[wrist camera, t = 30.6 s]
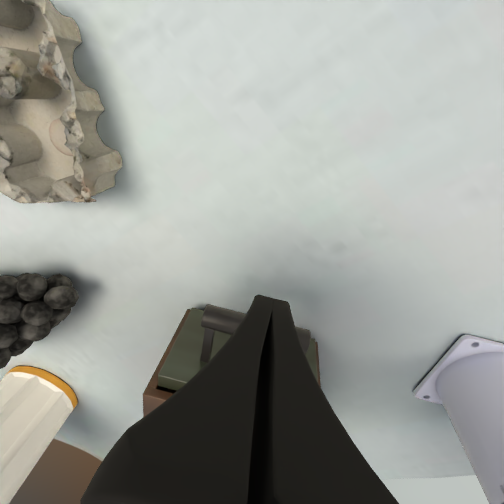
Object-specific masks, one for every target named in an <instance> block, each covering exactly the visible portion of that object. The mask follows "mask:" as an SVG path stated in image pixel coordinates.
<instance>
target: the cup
mask: <svg viewBox="0 0 504 504" xmlns="http://www.w3.org/2000/svg"><path fill="white" fill-rule="evenodd" d="M77 403H78V402H77V398H76V395H75V393H74V392H73V390H72V389H71V388H70V387H69V385H67V384H66V383H65V382H64V381H62V380H61V379H59V378H58V377H56V376H55V375H53V374H51V373H49V372H47V371H44V370H42V369H38V368H34V367H30V366H16V367H14V368H13V369H11V370H10V371H9V372H8V373H7V374H6V375H4V377H3V379H2V380H1V381H0V504H9V502H10V501H11V500H12V498H13V497H14V495H15V494H16V492H17V491H18V489H19V488H20V486H21V485H22V483H23V482H24V480H25V479H26V477H27V476H28V474H29V473H30V472H31V470H32V469H33V467H34V466H35V464H36V463H37V461H38V460H39V459H40V457H41V455H42V454H43V453H44V451H45V450H46V448H47V447H48V445H49V444H50V442H51V441H52V439H53V438H54V437H55V435H56V434H57V432H58V431H59V429H60V428H61V426H62V425H63V423H64V422H65V420H66V419H67V417H68V416H69V415H70V414H71V412H72V411H73V409H74V408H75V406H76V405H77Z"/></svg>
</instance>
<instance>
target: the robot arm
mask: <svg viewBox="0 0 504 504" xmlns="http://www.w3.org/2000/svg"><path fill="white" fill-rule="evenodd" d="M413 393H414V396H415V397H416V398H418V399H422V400H426V401H430V402H434V403H438V404H441V405H444V407H445V410H446V412H447V414H448V416H449V418H450V420H451V422H452V425H453V427H454V429H455V431H456V433H457V435H458V437H459V440H460V442H461V444H462V446H463V448H464V450H465V452H466V455H467V457H468V459H469V461H470V463H471V465H472V467H473V470H474V472H475V474H476V476H477V478H478V480H479V482H480V484H481V486H482V489H483V491H484V493H485V495H486V497H487V500H488V502H489V504H504V344H503V343H499V342H495V341H491V340H487V339H483V338H479V337H475V336H471V335H463V336H461V337H460V338H459V339H458V340H457V341H456V343H455V344H454V345H453V346H452V347H451V348H450V350H449V351H448V352H447V353H446V354H445V355H444V356H443V358H442V359H441V360H440V361H439V362H438V363H437V365H436V366H435V367H434V368H433V369H432V370H431V371H430V373H429V374H428V375H427V376H426V377H425V378H424V379H423V381H422V382H421V383H420V384H419V385H418V386H417V388H416V389H415V390H414V391H413ZM81 504H399V503H398V502H397V500H396V499H395V498H394V497H393V495H392V494H391V493H390V492H389V490H388V489H387V488H386V486H385V485H384V484H383V482H382V481H381V480H380V479H379V477H378V476H377V475H376V473H375V472H374V471H373V470H372V468H371V467H370V465H369V464H368V463H367V461H366V460H365V458H364V457H363V455H362V454H361V453H360V451H359V450H358V448H357V447H356V445H355V444H354V443H353V441H352V439H351V438H350V436H349V435H348V433H347V432H346V430H345V428H344V427H343V425H342V424H341V422H340V421H339V419H338V417H337V416H336V414H335V413H334V411H333V409H332V407H331V406H330V404H329V402H328V400H327V399H326V397H325V395H324V393H323V391H322V389H321V387H320V386H319V384H318V382H317V380H316V378H315V376H314V373H313V371H312V369H311V367H310V365H309V362H308V360H307V358H306V355H305V353H304V350H303V348H302V345H301V342H300V340H299V337H298V334H297V331H296V328H295V325H294V321H293V318H292V314H291V310H290V305H289V303H288V302H286V301H282V300H278V299H274V298H270V297H266V296H262V295H256V296H255V297H254V300H253V303H252V305H251V307H250V309H249V311H248V312H247V314H246V316H245V317H244V319H243V320H242V322H241V323H240V325H239V326H238V328H237V329H236V330H235V332H234V333H233V334H232V336H231V337H230V338H229V339H228V341H227V342H226V343H225V344H224V346H223V347H222V348H221V349H220V350H219V351H218V352H217V354H216V355H215V356H214V357H213V358H212V359H211V360H210V361H209V362H208V363H207V364H206V365H205V366H204V367H203V368H202V369H201V370H200V371H199V372H198V373H197V374H196V375H195V376H194V377H193V378H192V379H190V380H189V381H188V382H187V383H186V384H185V385H184V386H183V387H181V388H180V389H179V390H178V391H177V392H175V393H174V394H173V395H172V396H171V397H169V398H168V399H167V400H166V401H165V402H163V403H162V404H161V405H160V406H158V407H157V408H156V409H154V410H153V411H152V412H150V413H149V414H147V415H146V416H145V417H143V418H142V419H141V420H139V421H138V422H136V423H135V424H134V425H132V426H131V427H130V428H128V429H127V430H126V432H125V433H124V434H123V435H122V436H121V438H120V439H119V440H118V441H117V443H116V444H115V445H114V446H113V448H112V449H111V450H110V452H109V453H108V454H107V456H106V457H105V459H104V460H103V462H102V463H101V465H100V466H99V468H98V469H97V471H96V473H95V475H94V477H93V478H92V480H91V482H90V484H89V486H88V488H87V490H86V491H85V493H84V495H83V497H82V499H81Z"/></svg>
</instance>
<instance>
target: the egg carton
mask: <svg viewBox="0 0 504 504" xmlns="http://www.w3.org/2000/svg"><path fill="white" fill-rule="evenodd" d="M81 43H82V40H81V36H80V32H79V28H78V26H77V24H76V22H75V21H74V20H73V18H70V17H66V16H63V15H62V14H61V13H59V12H58V11H57V10H56V9H55V8H54V7H53V5H52V3H51V2H50V1H49V0H0V192H1V193H3V194H5V195H6V196H8V197H9V198H11V199H13V200H15V201H17V202H19V203H43V202H48V203H53V202H62V201H72V202H96V200H95V199H92V198H90V197H91V196H95V195H96V194H97V193H100V192H103V191H105V190H107V189H109V188H111V187H114V186H115V175H116V173H117V172H118V170H119V169H121V168H122V158H121V156H120V154H119V152H118V151H116V150H113V149H111V148H109V147H107V146H105V145H104V144H103V142H102V140H101V139H100V137H99V135H98V133H97V129H96V123H97V118H98V117H99V116H100V114H101V113H102V112H103V111H104V110H105V109H104V107H103V105H102V104H101V101H100V98H99V95H98V92H97V91H96V90H94V89H92V88H89V87H87V86H86V85H85V84H84V83H83V82H82V81H81V80H80V79H79V77H78V76H77V74H76V72H75V69H74V66H73V53H74V50H75V48H76V47H77V46H78V45H79V44H81Z"/></svg>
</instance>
